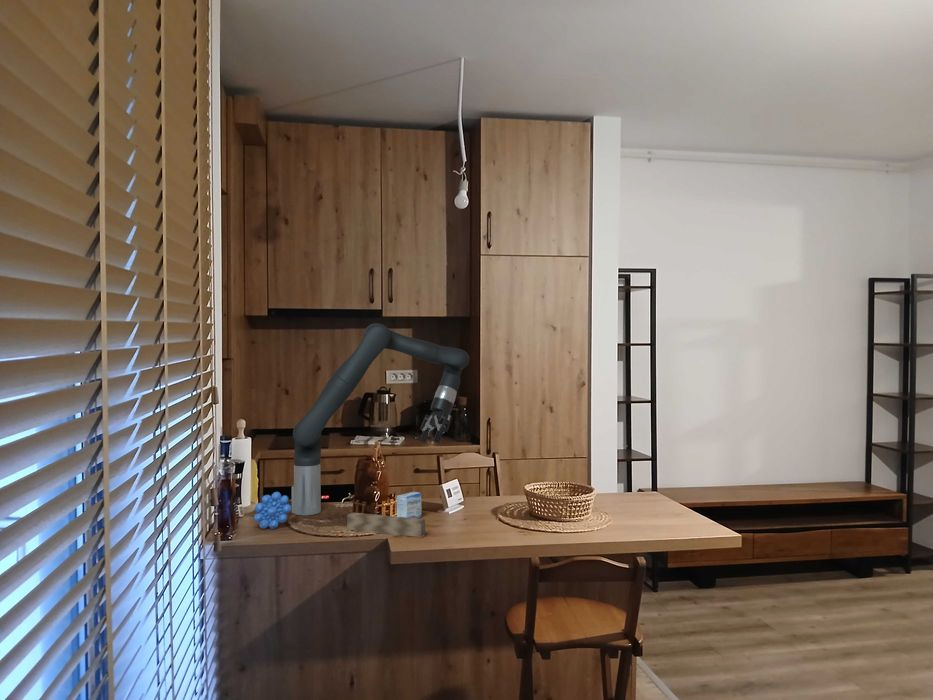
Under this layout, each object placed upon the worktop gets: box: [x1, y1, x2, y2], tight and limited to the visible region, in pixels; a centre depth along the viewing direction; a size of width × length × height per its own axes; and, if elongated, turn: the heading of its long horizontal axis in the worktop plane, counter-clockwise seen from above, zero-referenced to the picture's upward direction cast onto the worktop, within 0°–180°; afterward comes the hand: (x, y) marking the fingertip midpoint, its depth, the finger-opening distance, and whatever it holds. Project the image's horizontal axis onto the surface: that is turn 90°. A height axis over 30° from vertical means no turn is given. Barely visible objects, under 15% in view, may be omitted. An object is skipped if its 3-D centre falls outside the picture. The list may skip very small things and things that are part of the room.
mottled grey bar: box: [346, 511, 426, 538], centre depth 207 cm, size 26×3×5 cm, turn 70°
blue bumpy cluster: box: [253, 491, 292, 530], centre depth 212 cm, size 12×7×12 cm, turn 101°
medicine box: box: [396, 491, 422, 518], centre depth 223 cm, size 8×4×9 cm, turn 143°
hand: (429, 442), depth 232 cm, fingers open, 8 cm apart
